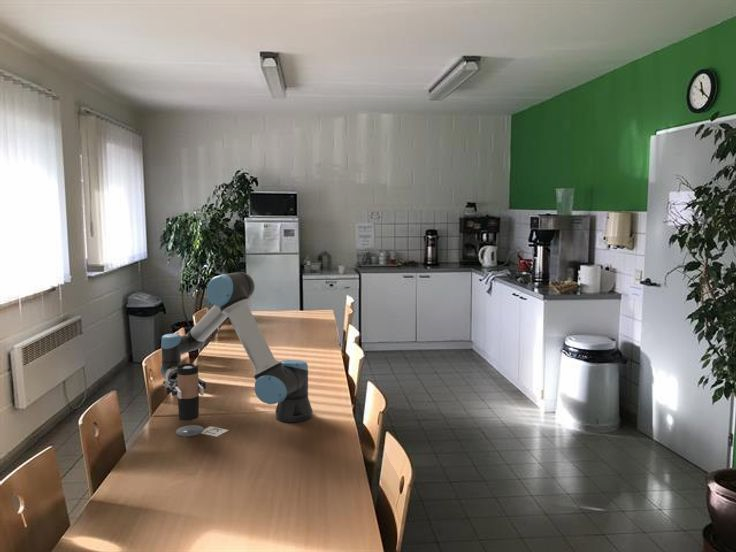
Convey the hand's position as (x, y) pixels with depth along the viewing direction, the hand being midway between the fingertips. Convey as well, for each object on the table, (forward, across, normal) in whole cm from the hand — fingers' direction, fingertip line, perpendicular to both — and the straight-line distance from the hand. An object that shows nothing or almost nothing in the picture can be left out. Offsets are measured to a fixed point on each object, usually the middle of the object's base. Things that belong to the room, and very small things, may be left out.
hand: (191, 393), depth 218 cm
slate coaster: (-5, 0, -16) cm, 17 cm away
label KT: (0, -8, -16) cm, 18 cm away
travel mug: (-5, 0, -11) cm, 12 cm away
